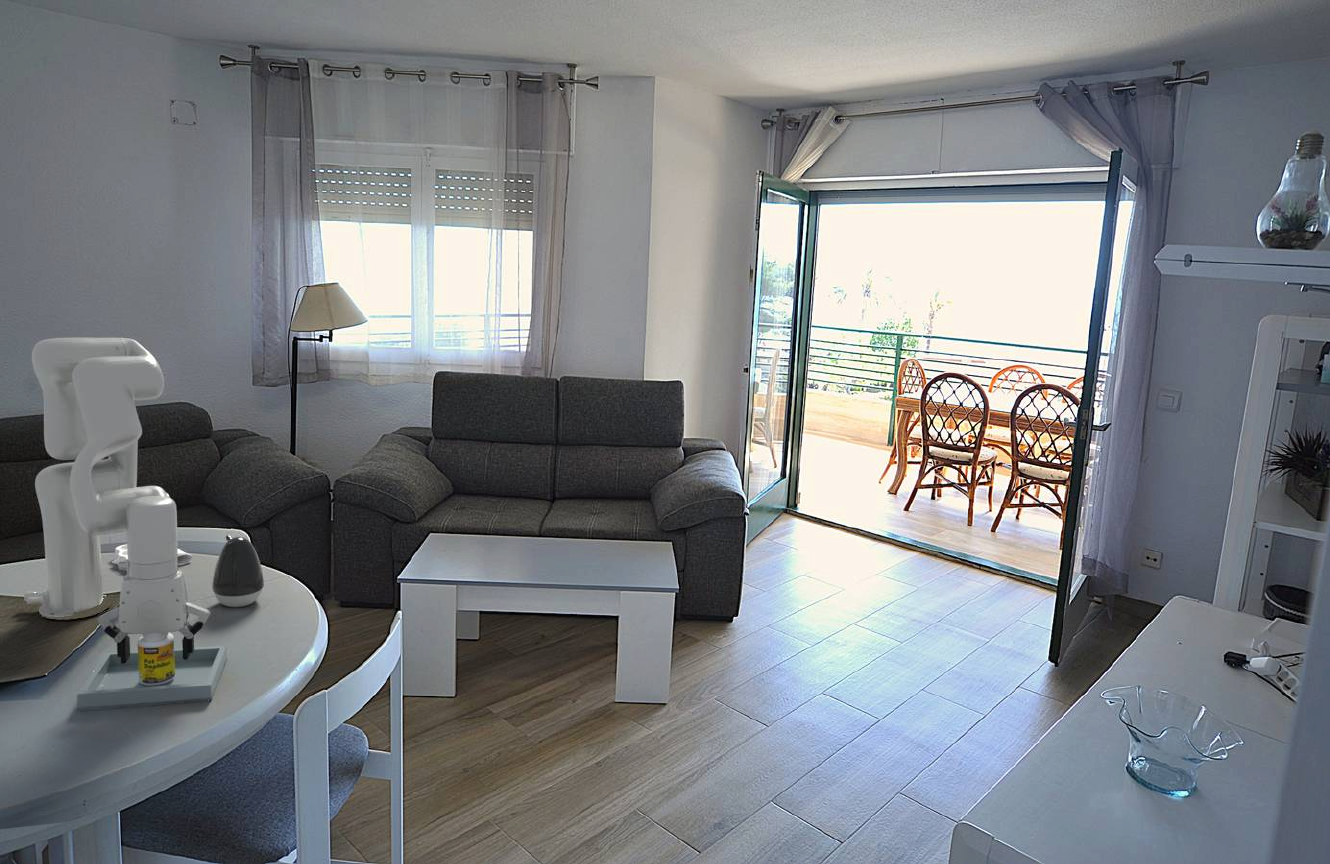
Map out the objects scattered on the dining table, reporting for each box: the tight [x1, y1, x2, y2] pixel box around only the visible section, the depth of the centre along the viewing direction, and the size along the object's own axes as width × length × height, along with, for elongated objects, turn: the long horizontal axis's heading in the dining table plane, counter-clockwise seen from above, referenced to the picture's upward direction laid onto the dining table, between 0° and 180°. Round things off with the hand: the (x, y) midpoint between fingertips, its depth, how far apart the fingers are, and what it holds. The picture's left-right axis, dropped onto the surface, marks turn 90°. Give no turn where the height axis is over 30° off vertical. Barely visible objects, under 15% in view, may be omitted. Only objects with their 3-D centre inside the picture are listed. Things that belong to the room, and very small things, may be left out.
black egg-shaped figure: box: [212, 534, 265, 608], centre depth 190 cm, size 10×10×15 cm
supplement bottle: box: [137, 632, 175, 686], centre depth 153 cm, size 6×6×10 cm
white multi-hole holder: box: [111, 543, 193, 566], centre depth 210 cm, size 3×18×15 cm
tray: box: [76, 645, 228, 712], centre depth 154 cm, size 20×16×3 cm
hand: (156, 658), depth 153 cm, fingers open, 9 cm apart
